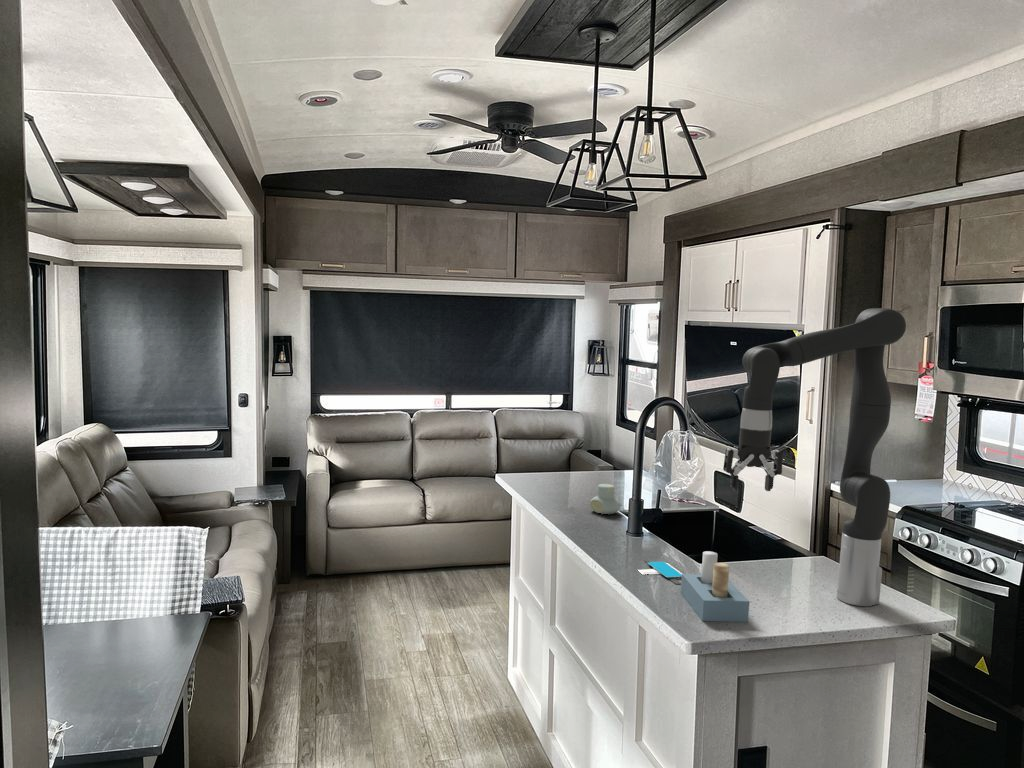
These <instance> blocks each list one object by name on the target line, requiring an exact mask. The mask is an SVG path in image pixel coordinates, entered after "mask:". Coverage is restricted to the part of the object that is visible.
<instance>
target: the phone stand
mask: <svg viewBox="0 0 1024 768" xmlns="http://www.w3.org/2000/svg"><path fill="white" fill-rule="evenodd" d="M644 561H645V562H646V563H647V564H648V565H649V566H651V567H652V568H649V569H647V568H646V569H637V570H638V571H639V572H640V573H641V574H642V575H641V574H640V573H639V572H638V571H637V572H638V573H639V574H640V575H641V576H651V575H652V576H653V575H663V576H664V577H665V578H667V579H668V580H669V581H671V582H672V583H674V584H675V585H679V584H680V585H681V582H680V581H679V580H678V579H682V574H687V573H686V572H685V571H683V570H681V569H680V568H678V567H677V566H676V565H674V564H673V563H671V562H670V561H669V560H667V561H666V562H665V561H652V560H650V559H647V558H646V559H644ZM645 574H646V575H645ZM647 574H649V575H647Z"/></svg>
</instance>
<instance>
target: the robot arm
mask: <svg viewBox="0 0 1024 768" xmlns="http://www.w3.org/2000/svg"><path fill="white" fill-rule="evenodd" d="M906 330H907V322H906V319H905V317H904V316H903V314H901V312H899V311H898V310H895V309H892V308H885V307H884V308H883V307H876V308H875V307H874V308H873V307H872V308H867V309H864V310H863V311H861V312H860V314H858V316H857V317H856V320H855V322H854V323H852V324H851V323H850V324H848V325H844V326H838V327H834V328H827V329H823V330H822V329H821V330H817V331H813V332H812V331H811V332H808V333H804V334H801V335H797V336H794V337H793V336H792V337H791V338H787V339H784V340H782V341H776V342H770V343H766V344H761V345H757V346H754V347H752V348H749V349H747V350H746V351H745V353H744V354H743V356H742V361H741V362H742V363H741V364H742V366H743V368H744V370H745V371H746V372H747V373H749V374H750V380H749V384H748V385H747V386H746V387H745V388H744V391H743V399H742V400H743V403H742V411H741V414H740V425H739V437H738V447H737V449H731V448H730V447H727V448H726V449H725V454H724V462H723V472H726V473H727V474H730V479H729V486H730V487H731V490H733V491H738V489H739V475H738V474H740V473H741V472H742V471H743V470H744V469H745V468H746V467H747V468H754V467H755V468H762V469H763V471H764V472H765V474H766V475H765V478H764V490H765V491H766V492H771V490H772V489H773V488H774V479H775V476H779V475H782V473H783V452H782V451H781V450H778V449H774V450H771V448H770V447H771V442H772V441H771V440H772V429H773V400H774V391H775V388H776V385H777V382H778V378H779V374H780V371H781V370H780V369H781V368H783V367H797V366H800V365H804V364H809V363H811V362H814V361H817V360H820V359H823V358H824V359H825V358H827V357H830V356H833V355H838V354H841V353H845V352H849V351H852V350H854V368H853V375H852V376H853V377H852V391H851V396H850V397H851V399H850V408H849V421H848V433H847V442H846V450H845V457H844V462H843V466H842V472H841V476H840V480H839V481H840V482H839V492H840V496H841V498H842V500H843V501H844V502H845V503H846V504H848V505H850V506H852V507H854V508H855V512H854V517H853V519H847V520H845V521H844V522H843V523H842V532H841V540H840V541H841V542H840V552H839V553H840V554H839V555H840V556H839V567H838V574H837V575H838V577H837V588H836V598H837V600H839V601H841V602H843V603H846V604H849V605H853V606H859V607H871V606H872V605H873V606H875V605H879V604H880V597H881V588H882V587H881V586H882V579H883V578H882V575H883V568H882V566H880V558H881V547H882V537H883V532H884V530H885V529H886V526H887V523H888V516H889V510H890V505H891V504H890V503H891V488H890V485H889V483H888V482H887V481H886V480H885V479H884V478H882V477H880V476H877V475H875V474H871V465H872V458H873V453H874V451H875V448H876V446H877V445H878V443H879V442H880V440H881V439H882V437H883V436H884V434H885V433H886V431H887V429H888V426H889V423H890V415H891V406H892V405H891V404H892V398H891V397H892V396H891V390H890V386H889V382H888V380H887V376H886V373H885V368H884V367H885V366H884V355H885V346H889V345H893V344H895V343H896V342H898V341H900V339H901V338H902V337H903V336H904V334H905V333H906ZM736 456H737V457H738V459H737V461H736V462H735V463H734V465H733V461H734V458H736ZM770 458H772V459H773V467H771V465H770V464H769V462H768V460H769V459H770Z"/></svg>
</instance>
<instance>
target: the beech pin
mask: <svg viewBox="0 0 1024 768" xmlns="http://www.w3.org/2000/svg"><path fill="white" fill-rule="evenodd" d="M729 575H730V565H729V564H727V563H725V562H724V563H723V562H717V563H715V564H714V568H713V585H712V596H713V597H721V598H727V595H728V580H729V578H730V577H729Z"/></svg>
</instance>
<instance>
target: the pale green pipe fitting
mask: <svg viewBox="0 0 1024 768" xmlns="http://www.w3.org/2000/svg"><path fill="white" fill-rule="evenodd" d="M589 506H590V508H591V510H592V511H594V512H595V513H597V514H598V513H601V514H600V515H603V514H608V515H613V514H616V513H618V511H620V509H621V502H620V501H619V499H618V498H617V497H615V486H614V485H613V484H609V483H600V484H598V485H597V495H596V496H594V497H593V498H591V500H590V502H589Z"/></svg>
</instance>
